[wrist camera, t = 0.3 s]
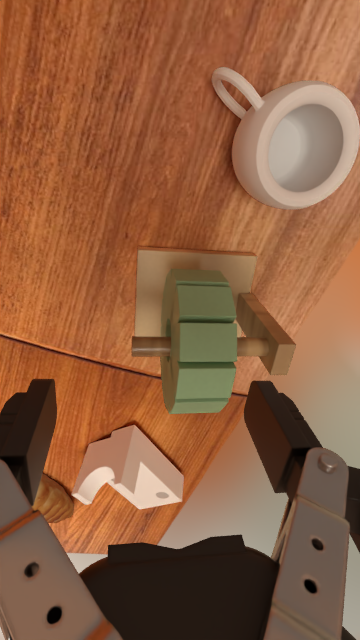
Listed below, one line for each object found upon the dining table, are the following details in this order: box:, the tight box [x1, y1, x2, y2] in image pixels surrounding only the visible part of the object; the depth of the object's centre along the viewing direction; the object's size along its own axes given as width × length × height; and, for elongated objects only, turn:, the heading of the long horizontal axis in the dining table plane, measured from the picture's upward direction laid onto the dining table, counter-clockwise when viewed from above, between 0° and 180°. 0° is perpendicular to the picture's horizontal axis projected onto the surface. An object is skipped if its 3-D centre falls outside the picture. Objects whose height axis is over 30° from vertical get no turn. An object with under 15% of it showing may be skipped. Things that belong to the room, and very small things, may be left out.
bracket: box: [71, 425, 184, 509], centre depth 42 cm, size 13×7×8 cm, turn 30°
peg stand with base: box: [132, 247, 296, 375], centre depth 30 cm, size 13×11×12 cm
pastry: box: [32, 473, 74, 523], centre depth 44 cm, size 9×7×4 cm
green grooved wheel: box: [160, 269, 237, 414], centre depth 27 cm, size 4×12×12 cm, turn 175°
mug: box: [212, 67, 360, 210], centre depth 25 cm, size 12×8×8 cm
